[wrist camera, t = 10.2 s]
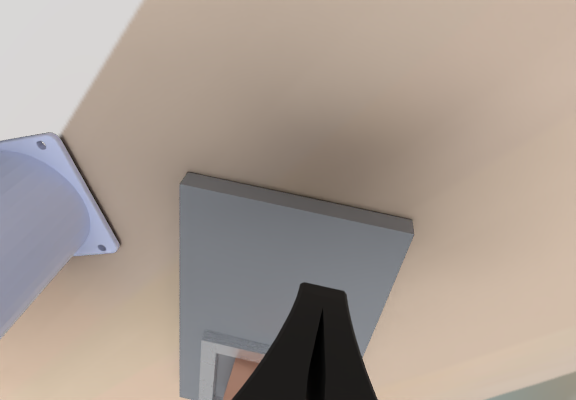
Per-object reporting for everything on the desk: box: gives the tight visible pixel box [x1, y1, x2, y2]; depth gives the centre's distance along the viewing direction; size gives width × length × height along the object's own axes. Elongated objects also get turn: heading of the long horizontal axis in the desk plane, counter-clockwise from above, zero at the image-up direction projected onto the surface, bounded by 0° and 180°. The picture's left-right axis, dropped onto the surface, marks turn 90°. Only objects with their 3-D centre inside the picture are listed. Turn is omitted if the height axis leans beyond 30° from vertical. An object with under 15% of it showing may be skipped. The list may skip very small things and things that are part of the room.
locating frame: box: [199, 330, 271, 400], centre depth 30 cm, size 8×8×1 cm
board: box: [180, 172, 414, 400], centre depth 27 cm, size 20×12×1 cm, turn 171°
